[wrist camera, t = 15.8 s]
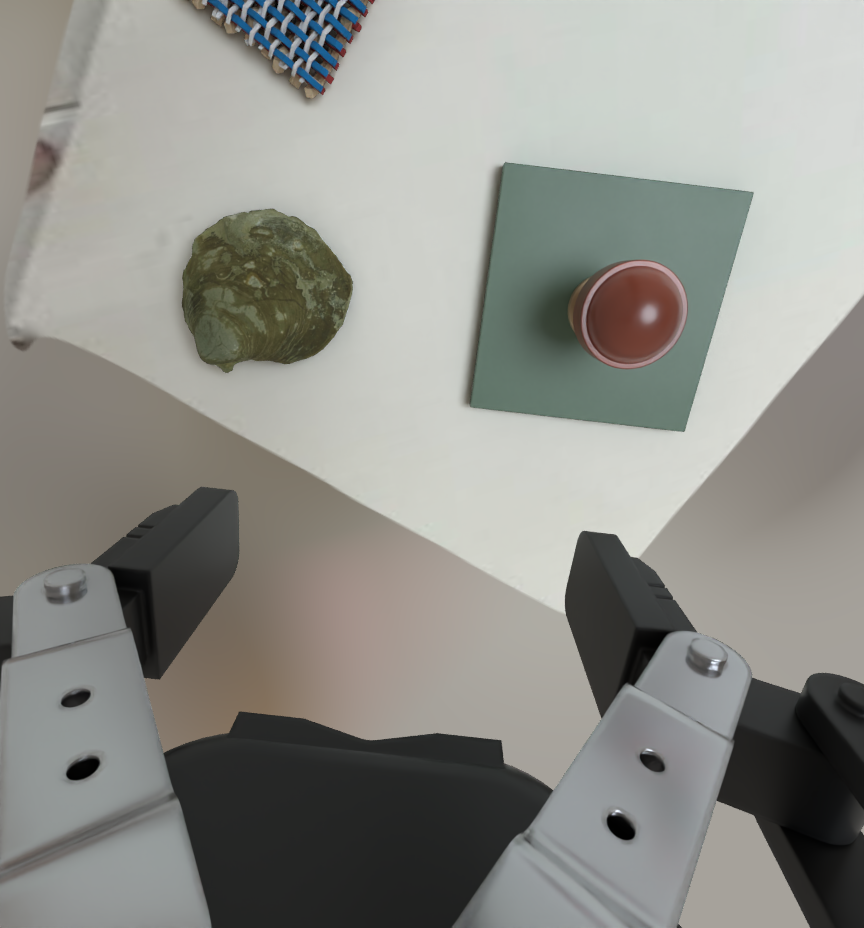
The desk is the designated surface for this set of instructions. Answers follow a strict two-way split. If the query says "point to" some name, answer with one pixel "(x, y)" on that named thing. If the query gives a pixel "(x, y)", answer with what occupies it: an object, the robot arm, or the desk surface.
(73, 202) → the desk surface
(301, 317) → the seashell
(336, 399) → the desk surface
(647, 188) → the sage board
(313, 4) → the woven mat
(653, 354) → the wooden mushroom
